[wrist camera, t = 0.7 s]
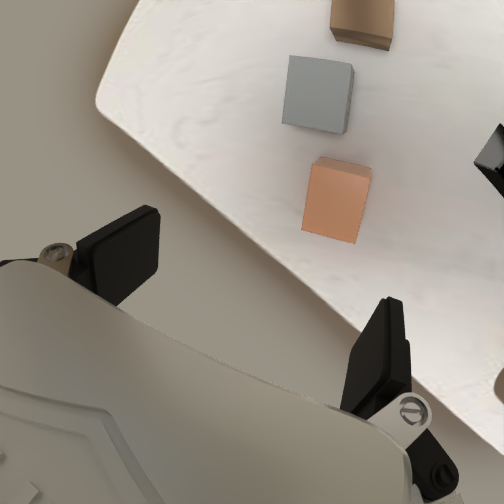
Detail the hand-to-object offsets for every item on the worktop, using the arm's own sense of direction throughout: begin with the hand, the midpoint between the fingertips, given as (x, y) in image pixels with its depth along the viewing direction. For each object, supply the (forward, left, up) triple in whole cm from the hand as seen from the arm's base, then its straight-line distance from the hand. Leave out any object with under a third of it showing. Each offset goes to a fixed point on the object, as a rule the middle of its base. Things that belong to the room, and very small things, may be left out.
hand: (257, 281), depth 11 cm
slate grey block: (+2, -8, -21) cm, 22 cm away
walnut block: (-1, -17, -21) cm, 26 cm away
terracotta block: (-1, +1, -21) cm, 21 cm away
